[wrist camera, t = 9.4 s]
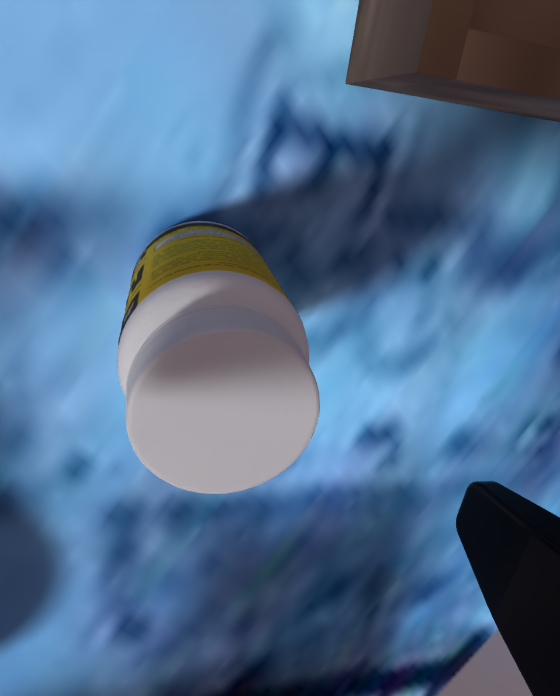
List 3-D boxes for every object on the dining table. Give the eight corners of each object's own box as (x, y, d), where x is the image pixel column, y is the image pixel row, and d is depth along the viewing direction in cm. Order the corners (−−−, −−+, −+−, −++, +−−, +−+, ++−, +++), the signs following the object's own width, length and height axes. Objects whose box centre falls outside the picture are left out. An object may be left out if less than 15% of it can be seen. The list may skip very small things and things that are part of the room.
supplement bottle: (118, 227, 16) (75, 328, 8) (261, 210, 17) (336, 289, 9) (147, 358, 18) (133, 529, 11) (272, 338, 19) (342, 485, 11)
